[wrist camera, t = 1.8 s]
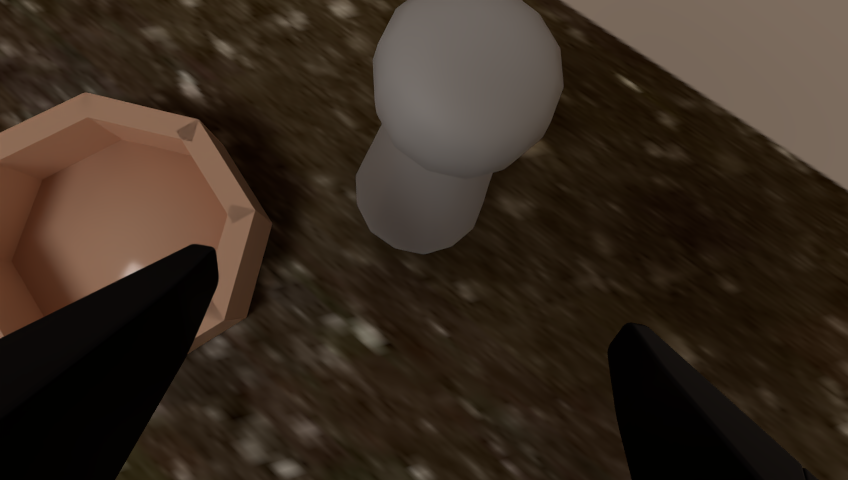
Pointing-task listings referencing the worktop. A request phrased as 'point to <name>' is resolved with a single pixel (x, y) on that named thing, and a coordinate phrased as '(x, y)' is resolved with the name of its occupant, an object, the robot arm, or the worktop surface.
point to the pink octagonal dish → (119, 208)
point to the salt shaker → (452, 114)
